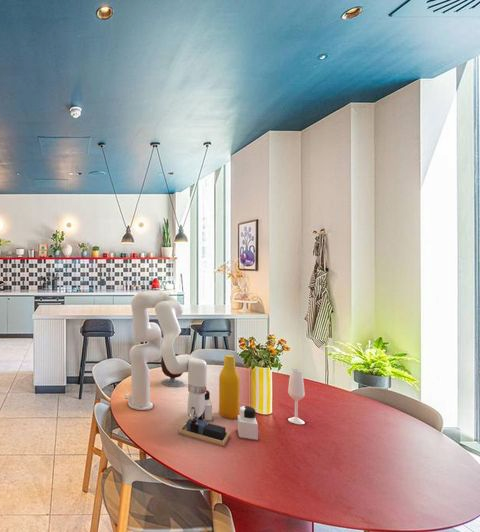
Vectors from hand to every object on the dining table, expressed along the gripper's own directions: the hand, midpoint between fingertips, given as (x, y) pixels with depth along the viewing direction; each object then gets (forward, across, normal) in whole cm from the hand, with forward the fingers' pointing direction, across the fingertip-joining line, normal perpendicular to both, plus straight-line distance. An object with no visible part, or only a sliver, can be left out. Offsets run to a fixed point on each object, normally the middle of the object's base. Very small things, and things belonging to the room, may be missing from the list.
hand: (196, 429), depth 149 cm
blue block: (+1, 0, 0) cm, 1 cm away
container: (+2, -18, -3) cm, 18 cm away
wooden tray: (+2, 0, +3) cm, 4 cm away
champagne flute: (+2, -40, +34) cm, 53 cm away
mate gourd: (+2, -55, -32) cm, 63 cm away
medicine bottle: (+2, -11, +18) cm, 21 cm away
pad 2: (+1, 0, +8) cm, 8 cm away
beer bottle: (+2, -28, +7) cm, 29 cm away
